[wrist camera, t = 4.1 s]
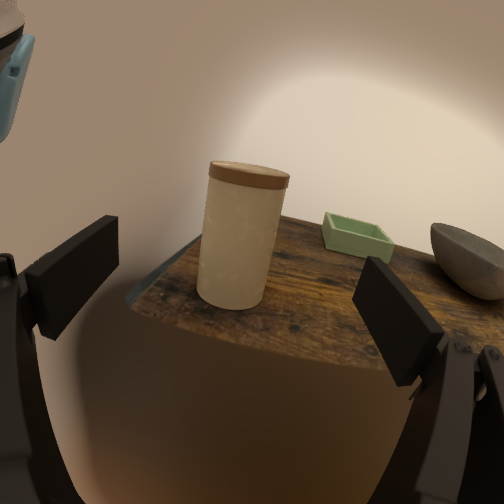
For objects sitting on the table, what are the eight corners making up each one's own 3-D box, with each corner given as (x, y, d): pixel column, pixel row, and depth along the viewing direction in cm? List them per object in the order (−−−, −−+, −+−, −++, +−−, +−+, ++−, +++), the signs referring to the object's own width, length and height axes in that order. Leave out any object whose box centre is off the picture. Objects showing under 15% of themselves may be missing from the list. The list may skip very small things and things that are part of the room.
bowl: (526, 321, 27) (545, 280, 24) (461, 317, 26) (487, 260, 23) (469, 268, 46) (481, 235, 43) (399, 252, 46) (413, 211, 43)
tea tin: (185, 299, 22) (198, 163, 18) (207, 268, 28) (222, 159, 24) (258, 318, 22) (288, 179, 18) (267, 282, 27) (291, 172, 23)
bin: (326, 249, 40) (331, 228, 38) (321, 229, 49) (325, 211, 48) (388, 264, 39) (395, 244, 37) (373, 241, 48) (378, 225, 47)
